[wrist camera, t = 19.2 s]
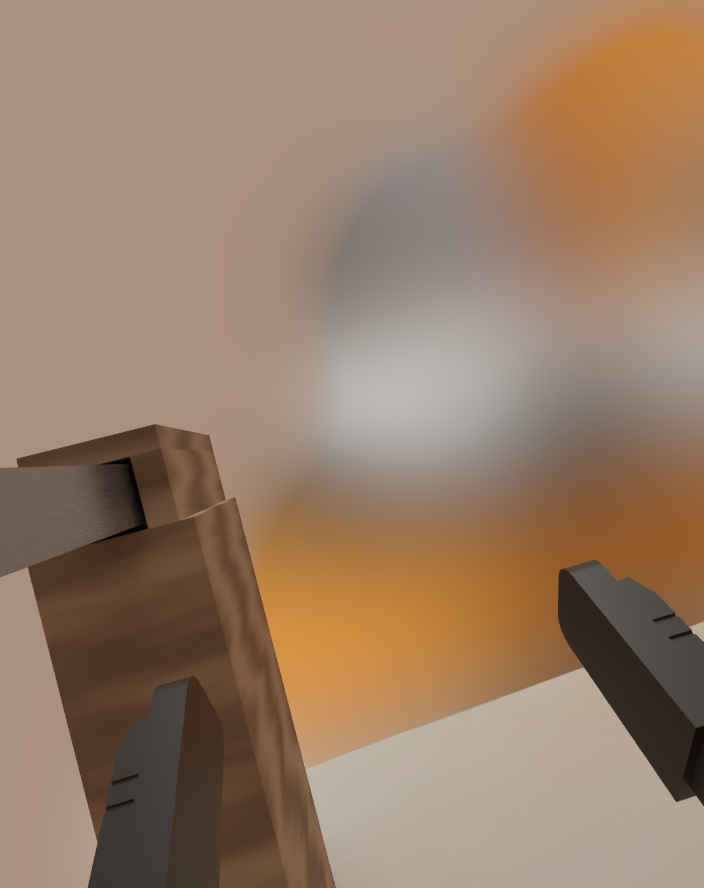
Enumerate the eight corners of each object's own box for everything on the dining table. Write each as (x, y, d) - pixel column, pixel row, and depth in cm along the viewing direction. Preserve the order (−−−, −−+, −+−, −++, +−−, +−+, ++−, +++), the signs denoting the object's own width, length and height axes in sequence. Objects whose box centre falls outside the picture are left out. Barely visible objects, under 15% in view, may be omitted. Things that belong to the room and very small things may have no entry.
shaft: (-496, 763, 5) (-562, 486, 5) (-815, 849, 5) (-886, 562, 5) (185, 507, 32) (173, 462, 32) (138, 520, 32) (126, 474, 32)
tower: (360, 1167, 24) (169, 420, 24) (194, 1227, 23) (1, 462, 24) (346, 931, 36) (218, 432, 36) (236, 967, 35) (107, 460, 36)
